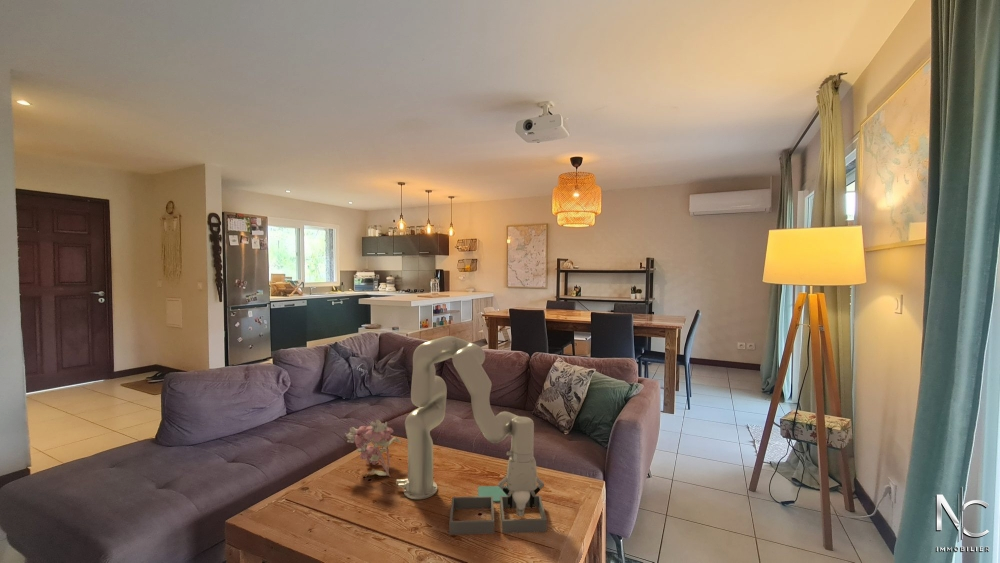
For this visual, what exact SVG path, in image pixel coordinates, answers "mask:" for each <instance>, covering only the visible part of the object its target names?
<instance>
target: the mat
mask: <svg viewBox="0 0 1000 563" xmlns="http://www.w3.org/2000/svg"><path fill="white" fill-rule="evenodd" d="M505 486H506V487H507V485H505ZM477 492H478V494H477V497H480V496H493V504H494V503H500V496H507V495H506V494H505V493H504V492H503V490H502V489H501V488H500V487H499V485H490V486H489V485H487V486H486V485H485V486H484V485H483V486H480V485H479V486H477Z"/></svg>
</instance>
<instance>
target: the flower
mask: <svg viewBox="0 0 1000 563" xmlns="http://www.w3.org/2000/svg"><path fill="white" fill-rule="evenodd" d="M393 433H394V430H393V428H391V427H389V426H388V423H387V421H385V423H384V422H382V421H380V419H375V421H374V420H371V422H370V423H369V425H368V426H365V425H362V426H359V428H355V427H354V426H351V427H349V431H347V433H346V432H344V435H345V437H347V443H352V444H354V443H355V446H356V447H357V448H356V451H357V453H360V455H359V458H360V460H365V462H366V463H367V464H372V465H377V464H380V465H381V466H382V468H383V469H384V470H385V471H382V470H378V469H373V470H371V471H369V472H367V473H366V475H365V477H367V476H368V475H370V474H375V475H378V476H385V477H386V476H388V477H390V478H391V475H390V460H391V459H390V449H389V446H391V444H392V443H394V442H396V443H401V444H403V443H402V440H400V439H399V438H397V437H394V436H393V435H391V434H393ZM368 441H370V442H371V444H372V445H368V443H367V442H368ZM379 447H381V448H379ZM383 453H386V456H387V465H386V462H385V460H384V457H383Z"/></svg>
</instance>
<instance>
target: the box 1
mask: <svg viewBox="0 0 1000 563" xmlns="http://www.w3.org/2000/svg"><path fill="white" fill-rule="evenodd" d="M451 498H452V499H451V505H450V506H451V507H450V514H449V523H448V524H449V528H448V529H449V533H448V534H449V535H450V536H451V535H453V536H454V535H456V536H457V535H482V534H483V535H485V534H487V535H489V534H495V512H494V511H495V510H494V509H495V508H494V503H493V496H480V497H478V496H452V497H451ZM474 509H475V510H478V509H479V510H480V509H483V510H484V509H490V516H491V517H490V518H491V519H488V520H487V519H484V520H482V519H481V520H454V514H455V510H474Z"/></svg>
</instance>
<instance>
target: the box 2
mask: <svg viewBox="0 0 1000 563" xmlns="http://www.w3.org/2000/svg"><path fill="white" fill-rule="evenodd" d="M513 508H514V509H515V508H516V509H517V507H516V503H515V502H514V500H513V498H512V509H513ZM525 508H530V504H529V501H528V502H527V503H526V507H525ZM533 508H538V510H539V515H540V518H522V519H520V518H519V519H515V518H514V519H505V512H504V509H510V505H508V496H500V502H499V509H500V522H501V531H502V532H501V533H502V534H519V533H520V534H521V533H522V534H524V533H525V534H526V533H547V532H548V531H547V530H548V520H547V515H546V511H545V509H544V504H543V500H542V497H541V495H540V494H536V496H535V497H534V504H533Z"/></svg>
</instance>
